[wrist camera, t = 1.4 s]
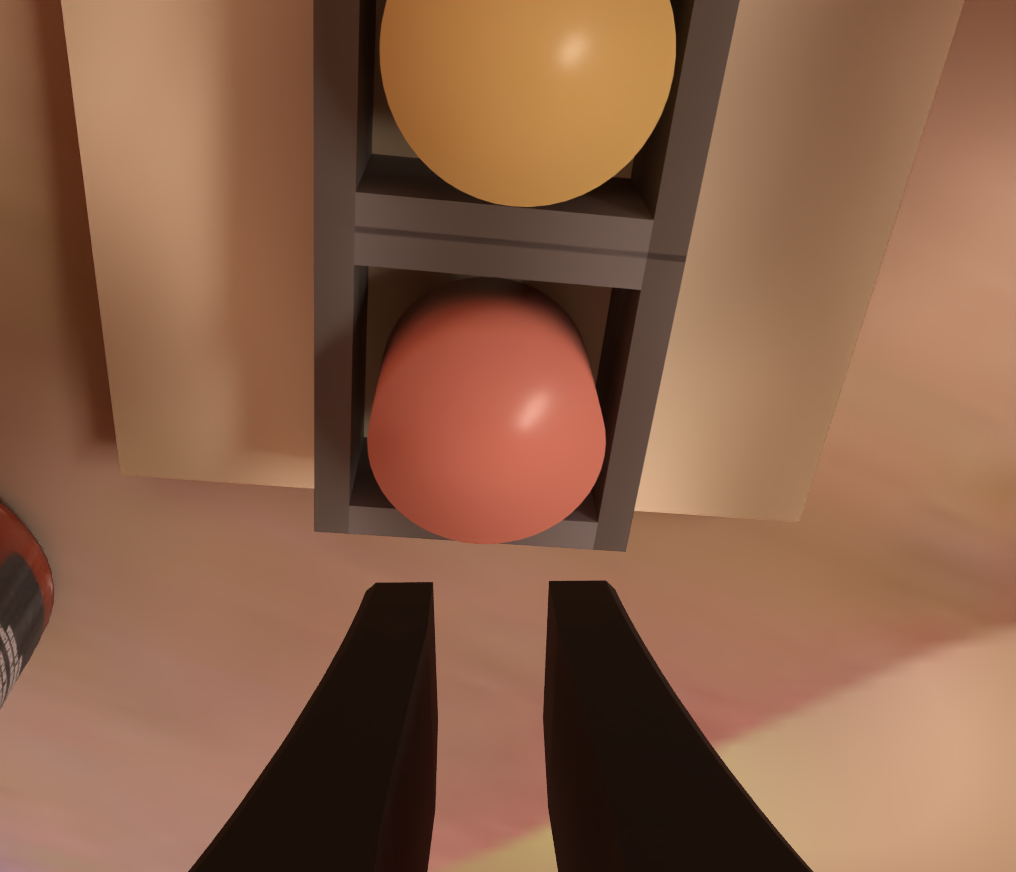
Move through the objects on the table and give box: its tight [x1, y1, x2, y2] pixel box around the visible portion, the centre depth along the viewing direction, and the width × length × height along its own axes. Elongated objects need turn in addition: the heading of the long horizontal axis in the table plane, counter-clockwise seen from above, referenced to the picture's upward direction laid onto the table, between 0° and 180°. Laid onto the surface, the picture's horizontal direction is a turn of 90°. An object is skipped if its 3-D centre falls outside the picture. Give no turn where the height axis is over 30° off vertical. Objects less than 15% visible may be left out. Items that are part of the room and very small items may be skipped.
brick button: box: [367, 277, 606, 544], centre depth 15 cm, size 4×4×2 cm
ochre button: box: [380, 0, 676, 207], centre depth 12 cm, size 4×4×2 cm
